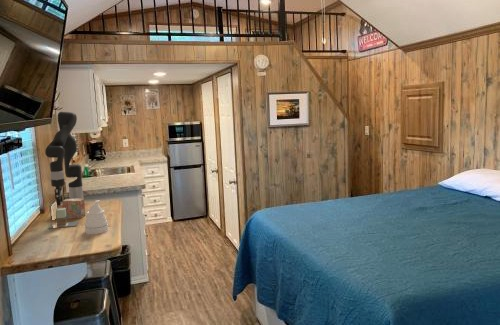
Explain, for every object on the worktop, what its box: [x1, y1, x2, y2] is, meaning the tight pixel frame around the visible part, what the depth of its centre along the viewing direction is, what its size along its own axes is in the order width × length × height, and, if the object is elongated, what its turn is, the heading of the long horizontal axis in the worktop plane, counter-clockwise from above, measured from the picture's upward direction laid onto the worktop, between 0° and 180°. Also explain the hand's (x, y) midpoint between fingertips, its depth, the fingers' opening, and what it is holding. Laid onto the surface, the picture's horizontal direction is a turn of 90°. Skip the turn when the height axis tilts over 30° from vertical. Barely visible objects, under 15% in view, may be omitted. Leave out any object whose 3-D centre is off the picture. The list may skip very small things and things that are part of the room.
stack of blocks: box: [49, 198, 86, 219], centre depth 267 cm, size 21×6×12 cm, turn 88°
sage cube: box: [55, 208, 66, 219], centre depth 246 cm, size 5×5×5 cm
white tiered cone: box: [84, 199, 109, 235], centre depth 234 cm, size 13×13×18 cm
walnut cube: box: [55, 217, 68, 226], centre depth 247 cm, size 5×5×5 cm
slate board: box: [48, 220, 79, 230], centre depth 247 cm, size 10×16×1 cm, turn 108°
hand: (59, 203), depth 245 cm, fingers open, 8 cm apart
